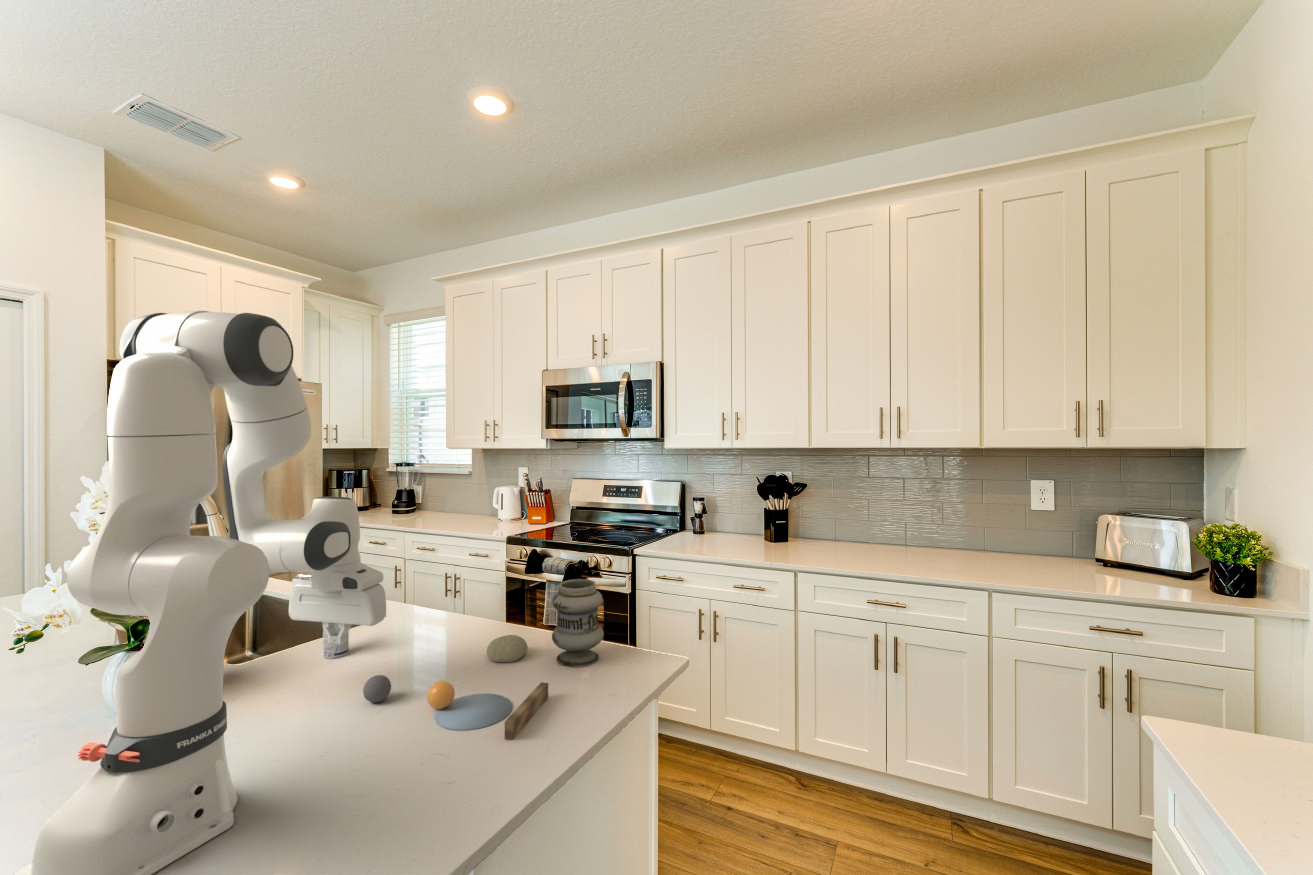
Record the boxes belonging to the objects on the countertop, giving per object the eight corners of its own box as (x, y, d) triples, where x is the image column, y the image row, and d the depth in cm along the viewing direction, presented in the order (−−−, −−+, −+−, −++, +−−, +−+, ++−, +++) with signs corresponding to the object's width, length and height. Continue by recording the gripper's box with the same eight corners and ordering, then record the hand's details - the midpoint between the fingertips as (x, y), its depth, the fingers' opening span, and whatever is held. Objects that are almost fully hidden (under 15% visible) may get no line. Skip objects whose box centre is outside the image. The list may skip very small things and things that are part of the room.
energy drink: (353, 651, 138) (353, 602, 138) (338, 659, 133) (338, 608, 133) (332, 650, 138) (332, 601, 138) (317, 658, 133) (317, 608, 133)
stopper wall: (512, 739, 97) (512, 722, 97) (504, 738, 98) (504, 721, 98) (548, 697, 113) (548, 682, 113) (541, 696, 113) (541, 682, 113)
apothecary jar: (543, 666, 129) (543, 587, 128) (564, 647, 140) (564, 575, 140) (593, 671, 126) (593, 591, 126) (610, 651, 137) (610, 578, 137)
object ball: (445, 715, 106) (445, 688, 106) (421, 712, 107) (421, 686, 107) (459, 702, 111) (459, 677, 111) (436, 700, 112) (436, 675, 112)
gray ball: (379, 708, 109) (379, 682, 109) (357, 705, 110) (357, 680, 110) (396, 696, 114) (396, 671, 114) (374, 694, 115) (374, 669, 115)
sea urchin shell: (480, 646, 136) (504, 619, 139) (503, 665, 138) (526, 639, 141) (485, 659, 128) (511, 631, 130) (510, 679, 130) (535, 651, 133)
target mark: (490, 733, 99) (490, 732, 99) (419, 725, 102) (419, 724, 102) (524, 697, 113) (524, 696, 113) (460, 691, 116) (460, 690, 116)
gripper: (279, 577, 113) (280, 645, 113) (369, 582, 109) (370, 653, 109) (304, 569, 119) (306, 633, 119) (390, 573, 115) (391, 640, 115)
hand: (337, 643), depth 114 cm, fingers closed
